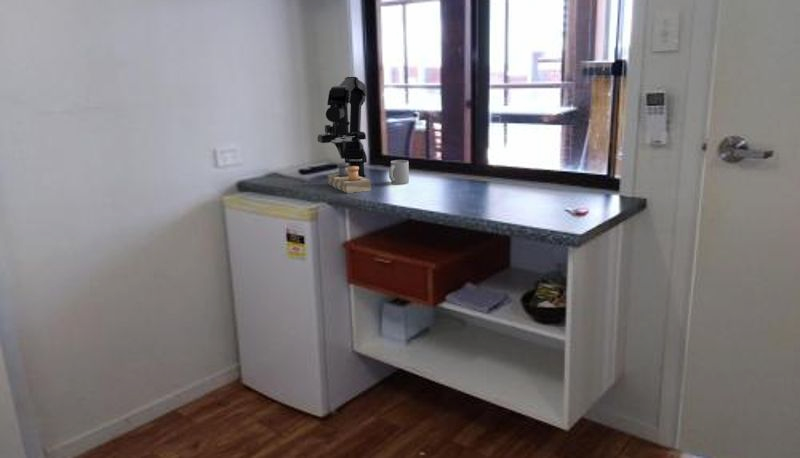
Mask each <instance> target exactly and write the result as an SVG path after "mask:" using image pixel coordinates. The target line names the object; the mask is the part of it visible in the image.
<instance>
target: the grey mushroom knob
mask: <svg viewBox="0 0 800 458" xmlns="http://www.w3.org/2000/svg"><path fill="white" fill-rule="evenodd" d="M348 166H349V163H345V162H338V163H337V167H338V174H339V177H348V170H347V167H348Z"/></svg>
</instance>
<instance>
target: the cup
mask: <svg viewBox="0 0 800 458" xmlns="http://www.w3.org/2000/svg"><path fill="white" fill-rule="evenodd" d="M409 169H410V165H409V160H407V159H406V160H405V159H395V160H391V161H390V167H389V170H388V177H389V180H390V181H391V183H392V185H397V186H399V185H400V186H401V185H403V186H404V185H407V184H409V181H410V170H409Z"/></svg>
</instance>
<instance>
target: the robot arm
mask: <svg viewBox="0 0 800 458" xmlns="http://www.w3.org/2000/svg"><path fill="white" fill-rule="evenodd" d="M367 93H368V90H367V87H366V84H365V82H362V81H361V80H359V78H358V77H357V76H346V77H344V80H343V81H342V82H341V83H340V84H339V85H335V86H334V85H333V86H332V87H331V88H330V89H329V91H328V97H327V98H328V99H327V102H326V103H327V106H330V107H328V108H327V109H326V111H325V117H326V119H327V120H328V121H329V122H330V123H332V125H331V124H326V125H324V134H323V133H322V134H318V135H317V138H316V139H317V142H318V143H321V144H329V143H332V144H333V145H334V146H335V147H336V149H337V151H338V154H339V156H340V158H341V159H344V163H349V166H358V167H359V170H358V176H361V177H363V178H365V177H367V175H366V174H365V163H367V162H368V161H367V160H368V159H367V155H366V154H367V153H366V151H365V149H364V144H363V143H362V141H361V140H366V139H367V135H366V133H365V132H364V131H361V124H362V123H361V120H362V106H363V104H364V103H365V101H366V96H367ZM348 105H350V114H349V108H348ZM349 166H348V167H349Z"/></svg>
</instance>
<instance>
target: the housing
mask: <svg viewBox="0 0 800 458" xmlns="http://www.w3.org/2000/svg"><path fill="white" fill-rule="evenodd" d="M371 181H372V180H371V179H368V178H365V177H361V176H358V181H349V176H348V177H339V173H337V174H335V173H334V174H327V184H329V185H328V186H330V185H331V186H330V187H332V186H333V187H332V188H334V187H335V188H334V189H336V188H337V190H338V189H339V191H341V190H342V191H341V192H343V191H344V192H343V193H345V192H346V193H345V194H347V193H348V194H354V192H356V193H361V192H362V191H363V192H369V191H371V190H372V189H371V188H372V186H371V185H372V184H371Z"/></svg>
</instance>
